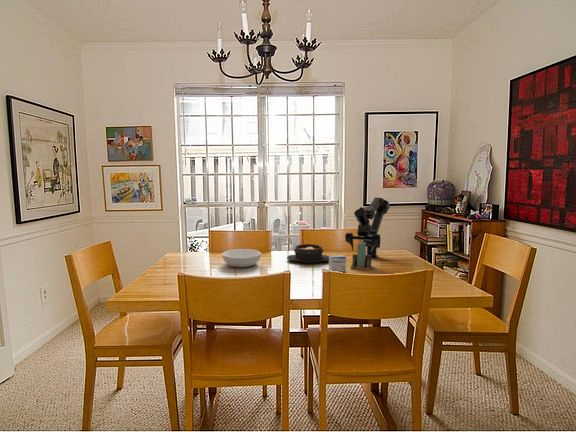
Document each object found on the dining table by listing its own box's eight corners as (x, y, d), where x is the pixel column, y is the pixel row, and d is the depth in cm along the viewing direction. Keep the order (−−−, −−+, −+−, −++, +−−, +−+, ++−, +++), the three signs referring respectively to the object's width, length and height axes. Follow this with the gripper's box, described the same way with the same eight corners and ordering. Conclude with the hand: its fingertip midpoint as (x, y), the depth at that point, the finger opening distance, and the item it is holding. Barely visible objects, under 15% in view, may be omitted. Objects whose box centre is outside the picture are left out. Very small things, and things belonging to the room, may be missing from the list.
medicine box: (331, 273, 180) (331, 257, 179) (328, 271, 184) (328, 255, 183) (346, 273, 182) (346, 256, 180) (342, 270, 186) (343, 254, 185)
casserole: (286, 265, 196) (286, 250, 195) (287, 256, 215) (287, 243, 214) (331, 265, 196) (332, 250, 195) (328, 257, 214) (329, 243, 213)
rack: (352, 264, 198) (352, 253, 197) (371, 265, 195) (371, 254, 195) (350, 269, 189) (350, 257, 188) (369, 270, 186) (370, 259, 185)
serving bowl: (224, 272, 183) (224, 259, 182) (221, 261, 203) (220, 250, 202) (264, 269, 189) (264, 256, 188) (257, 259, 209) (257, 247, 208)
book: (357, 264, 195) (358, 241, 193) (365, 264, 194) (366, 242, 192) (356, 266, 190) (357, 243, 188) (364, 267, 189) (365, 243, 187)
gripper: (345, 218, 196) (342, 242, 187) (381, 219, 190) (379, 244, 181) (347, 230, 204) (344, 253, 195) (381, 231, 199) (379, 255, 190)
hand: (361, 251), depth 190 cm, fingers open, 9 cm apart
